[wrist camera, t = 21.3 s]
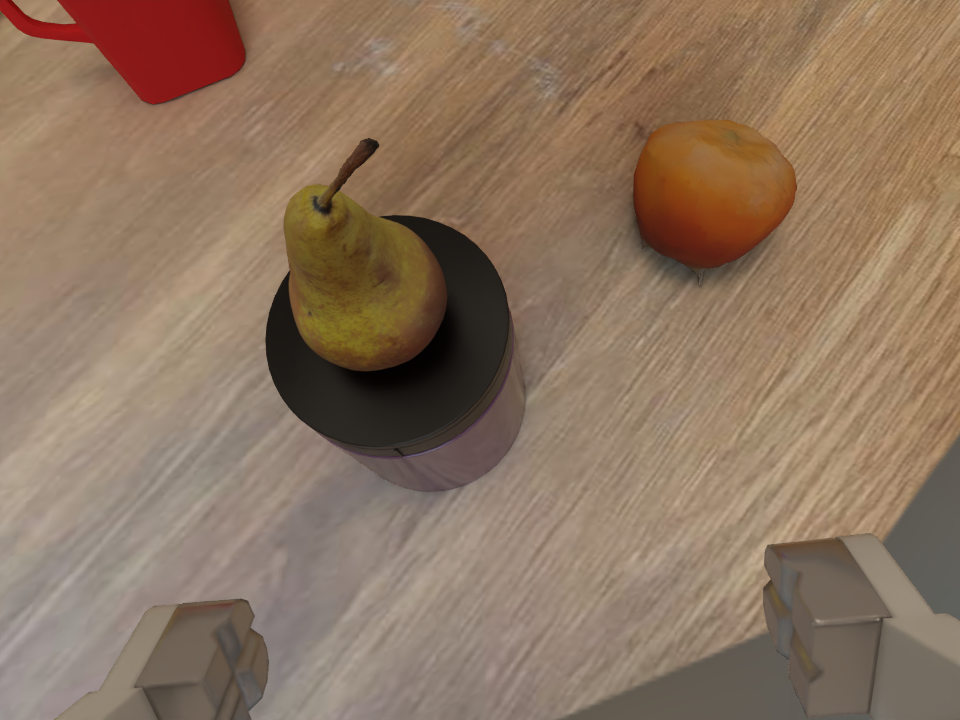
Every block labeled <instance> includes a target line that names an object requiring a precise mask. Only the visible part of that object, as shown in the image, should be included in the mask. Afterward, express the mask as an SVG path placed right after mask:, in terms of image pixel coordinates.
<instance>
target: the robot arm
mask: <svg viewBox="0 0 960 720" xmlns="http://www.w3.org/2000/svg"><path fill="white" fill-rule="evenodd" d="M764 566H765V568H766V570H767V572H768V575H769V577H770V579H771V580H770V581H769V582H768V583H767V584H766V585H765V586H764V588H763V606H764V612H765V618H766V624H767V627H768V630H769V633H770V636H771V639H772V641H773V643H774V646H775V648H776V651H777V652H778V653H780V654H781V655H782V656H784V657H785V658H786V659H788V660H789V680H790V682H791V684H792V686H793V688H794V691H795V693H796V695H797V697H798V699H799V702H800V704H801V706H802V708H803V710H804V712H805V715H806V717H807V718H808V717H824V716H825V717H826V716H844V715H863V714H870V718H871V719H872V720H960V620H958V619H956V618H954V617H952V616H950V615H948V614H947V613H941V614H935V613H934V612H933V611H932V610H931V608H930V607H929V605H928V604H927V603H926V601H925V600H924V599H923V597H922V596H921V595H920V593H919V592H918V591H917V589H916V588H915V587H914V585H913V584H912V583H911V581H910V580H909V579H908V578H907V576H906V575H905V573H904V572H903V571H902V569H901V568H900V567H899V565H898V564H897V563H896V561H895V560H894V559H893V557H892V556H891V555H890V553H889V552H888V551H887V549H886V548H885V547H884V545H883V544H882V543H881V541H880V540H879V539H878V537H876V536H875V535H873V534H871V533H866V534H857V535H849V536H840V537H836V538H826V539H817V540H808V541H799V542H790V543H781V544H771V545H767V547H766V550H765V557H764ZM254 617H255V616H254V613H253V611H252V609H251V607H250V604H249V602H248V601H247V600H243V599H231V600H218V601H205V602H192V603H183V604H176V605H161V606H153V607H152V608H150V609H149V610H147V611H146V612H145V613H144V615H143V617H142V618H141V620H140V622H139V623H138V625H137V627H136V628H135V630H134V632H133V634H132V635H131V637H130V639H129V640H128V642H127V644H126V645H125V647H124V649H123V650H122V652H121V654H120V656H119V657H118V659H117V661H116V662H115V664H114V666H113V667H112V669H111V671H110V672H109V674H108V676H107V678H106V679H105V681H104V683H103V684H102V686H101V688H100V689H99V691H97V692H89V693H88V694H86V695H85V696H84V697H82V698H81V699H80V700H79V701H77V702H76V703H75V704H73V705H72V706H71V707H70V708H68V709H67V710H66V711H64V712H63V713H62V714H60V715H59V716H58V717H57V718H55V719H54V720H251V717H250V715H249V712H248V711H250V710H251V709H252V708H253V707H254V706H255V705H256V704H257V703H258V702H259V701H260V700H261V699H262V697H263V694H264V690H265V687H266V684H267V679H268V667H269V659H268V652H267V647H266V644H265V642H264V639H263V636H261V635H260V634H258V633H257V632H256V631H254V630H253V629H251V628H250V627H251V624H252V622H253V619H254Z"/></svg>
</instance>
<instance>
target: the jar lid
mask: <svg viewBox="0 0 960 720" xmlns="http://www.w3.org/2000/svg"><path fill="white" fill-rule="evenodd" d="M380 218H384V219H387V220H390V221H393V222H396V223H399V224H401V225H403V226H405V227H407V228H409V229H410V230H411V231H413V232H414V233H415V234H417V235H418V236H419V237H420V238H421V239H422V240H423V241H424V242H425V243H426V244H427V246H428V247H429V248H430V250H431V251H432V253H433V254H434V256H435V257H436V259H437V261H438V263H439V265H440V267H441V269H442V272H443V275H444V279H445V283H446V288H447V305H446V311H445V314H444V318H443V320H442V322H441V324H440V327H439V329H438V330H437V332H436V334H435V336H434V338H433V339H432V340H431V342H430V343H429V344H428V345H427V346H426V347H425V348H424V349H423V350H422V351H421V352H420V353H419V354H418V355H416V356H415V357H414V358H412V359H410V360H409V361H407V362H405V363H402V364H399V365H397V366H394V367H390V368H386V369H381V370H374V371H355V370H351V369H347V368H344V367H340V366H338V365H336V364H333V363H331V362H329V361H327V360H325V359H324V358H322V357H320V356H319V355H318V354H316V353H315V352H314V351H313V350H312V349H311V348H310V347H309V346H308V345H307V344H306V342H305V341H304V339H303V338H302V336H301V335H300V333H299V330H298V327H297V325H296V322H295V319H294V315H293V311H292V307H291V302H290V296H289V278H290V271H289V272H288V274H287V275H286V277H285V278H284V280H283V281H282V283H281V285H280V287H279V289H278V291H277V293H276V295H275V297H274V300H273V303H272V306H271V309H270V312H269V317H268V321H267V327H266V356H267V361H268V366H269V371H270V373H271V376H272V379H273V382H274V384H275V386H276V388H277V390H278V392H279V394H280V396H281V397H282V399H283V400H284V402H285V403H286V404H287V406H288V407H289V408H290V410H291V411H292V412H293V413H294V414H295V415H296V416H297V417H298V418H299V419H300V420H301V421H303V422H304V423H305V424H307V425H308V426H310V427H311V428H312V429H314V430H315V431H316V432H318V433H319V434H321V435H322V436H324V437H325V438H327V439H328V440H330V441H332V442H334V443H335V444H337V445H339V446H341V447H344V448H346V449H349V450H352V451H354V452H358V453H363V454H367V455H374V456H386V457H387V456H400V457H404V455H409V454H414V453H419V452H422V451H425V450H428V449H431V448H434V447H436V446H438V445H441V444H443V443H445V442H447V441H449V440H451V439H452V438H454V437H455V436H457V435H458V434H460V433H462V432H463V431H464V430H465V429H467V428H468V427H469V426H470V425H471V424H473V423H474V422H475V421H476V420H477V419H478V418H479V417H480V416H481V414H482V413H483V412H484V411H485V410H486V409H487V408H488V406H489V405H490V403H491V402H492V401H493V399H494V398H495V396H496V394H497V392H498V391H499V389H500V387H501V385H502V383H503V381H504V378H505V375H506V373H507V370H508V366H509V362H510V358H511V352H512V341H513V336H512V323H511V317H510V312H509V307H508V302H507V297H506V292H505V289H504V287H503V284H502V281H501V278H500V277H499V275H498V273H497V271H496V269H495V267H494V265H493V264H492V263H491V261H490V260H489V258H488V257H487V256H486V254H485V253H484V252H483V251H482V250H481V249H480V248H479V247H478V246H477V245H476V244H475V243H474V242H472V241H471V240H470V239H469V238H467V237H466V236H465V235H463V234H462V233H460V232H458V231H456V230H455V229H453V228H451V227H449V226H446V225H444V224H442V223H439V222H436V221H433V220H429V219H426V218H421V217H414V216H401V215H392V216H381V217H380Z"/></svg>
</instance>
